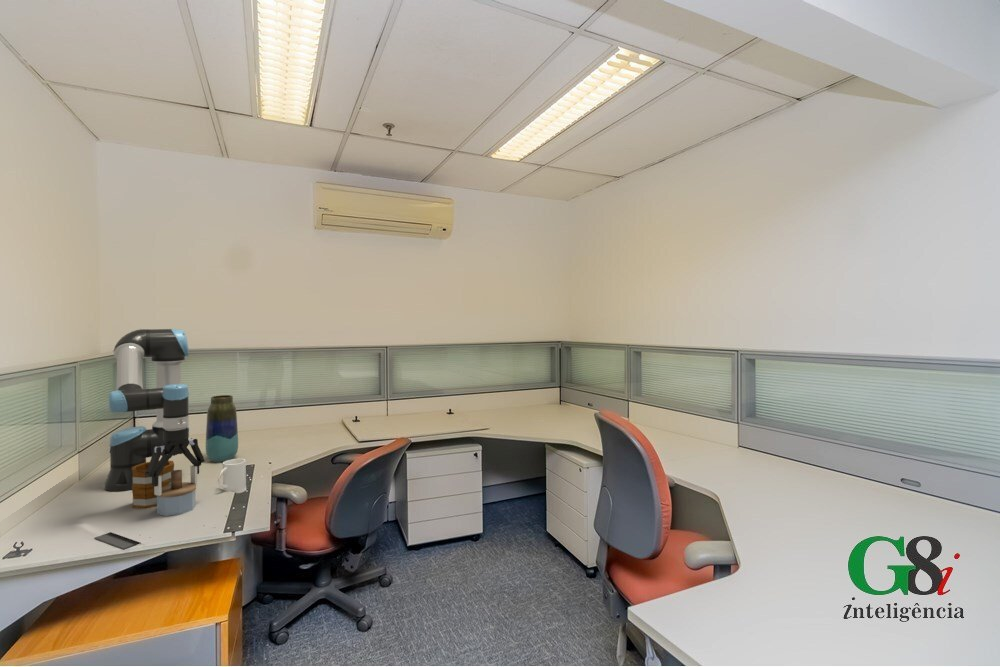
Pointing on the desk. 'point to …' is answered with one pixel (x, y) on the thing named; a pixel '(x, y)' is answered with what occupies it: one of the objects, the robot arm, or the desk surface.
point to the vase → (221, 429)
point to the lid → (177, 486)
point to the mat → (117, 540)
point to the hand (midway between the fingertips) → (176, 489)
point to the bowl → (176, 504)
